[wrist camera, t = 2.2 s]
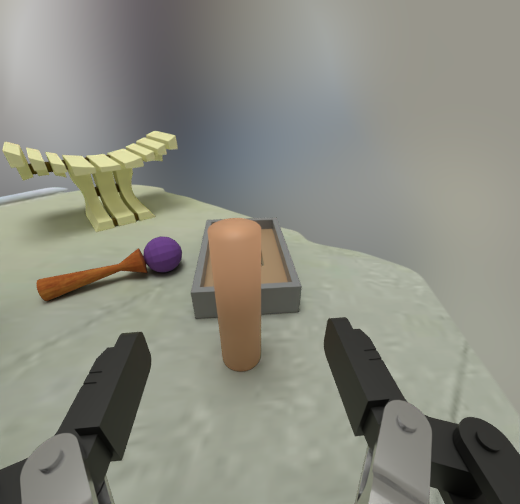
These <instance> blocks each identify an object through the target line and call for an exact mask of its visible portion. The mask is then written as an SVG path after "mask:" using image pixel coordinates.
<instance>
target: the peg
mask: <svg viewBox="0 0 520 504" xmlns="http://www.w3.org/2000/svg"><path fill="white" fill-rule="evenodd" d="M207 232H208V240H209V249H210V257H211V265H212V273H213V282H214V290H215V298H216V306H217V315H218V323H219V331H220V339H221V348H222V356H223V361H224V363H225V365H226V366H227V367H228V368H230V369H232V370H234V371H239V372H241V371H247V370H250V369H252V368H253V367H255V366H256V365H257V363H258V362H259V360H260V357H261V226H260V225H259V224H258V223H257V222H255V221H252V220H249V219H243V218H230V219H224V220H220V221H217V222H215V223H213V224H212V225H210V226H209V228H208V231H207Z"/></svg>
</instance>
